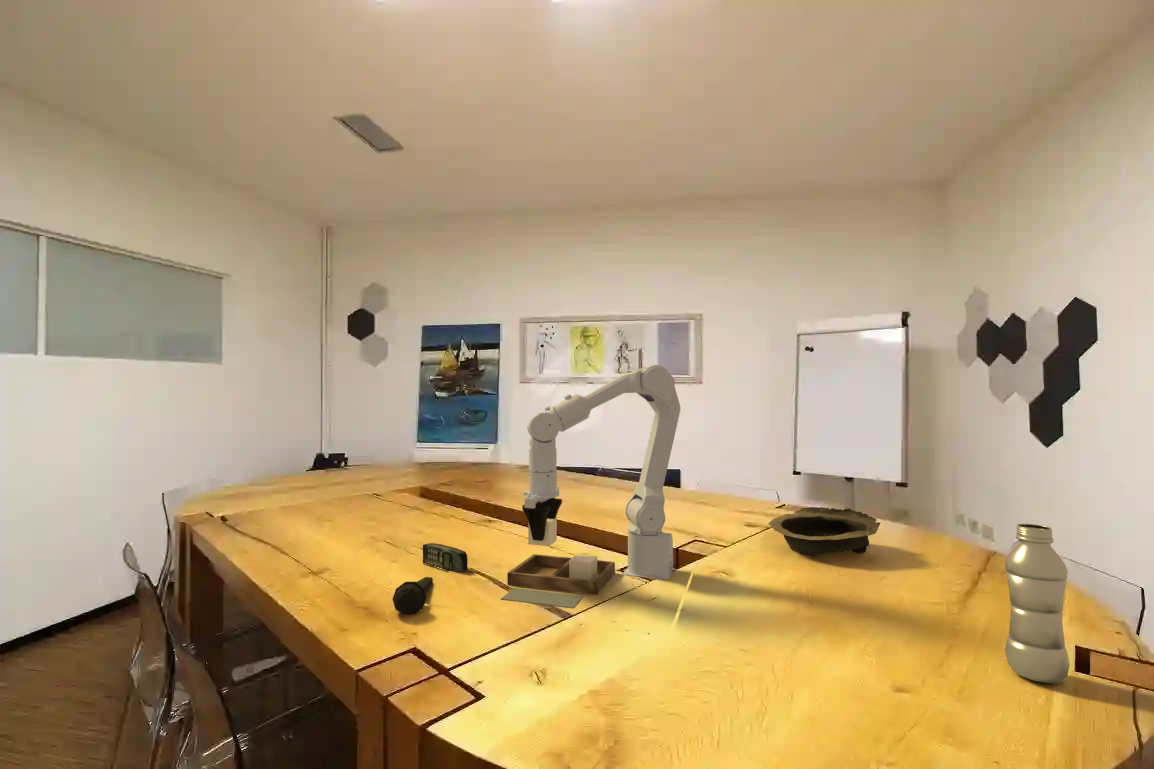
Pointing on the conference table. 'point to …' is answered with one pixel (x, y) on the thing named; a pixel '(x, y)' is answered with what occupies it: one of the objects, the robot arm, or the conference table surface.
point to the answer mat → (543, 597)
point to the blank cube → (583, 567)
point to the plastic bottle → (1036, 607)
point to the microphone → (411, 596)
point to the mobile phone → (445, 557)
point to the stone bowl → (826, 530)
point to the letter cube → (549, 534)
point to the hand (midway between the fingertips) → (542, 536)
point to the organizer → (558, 575)
